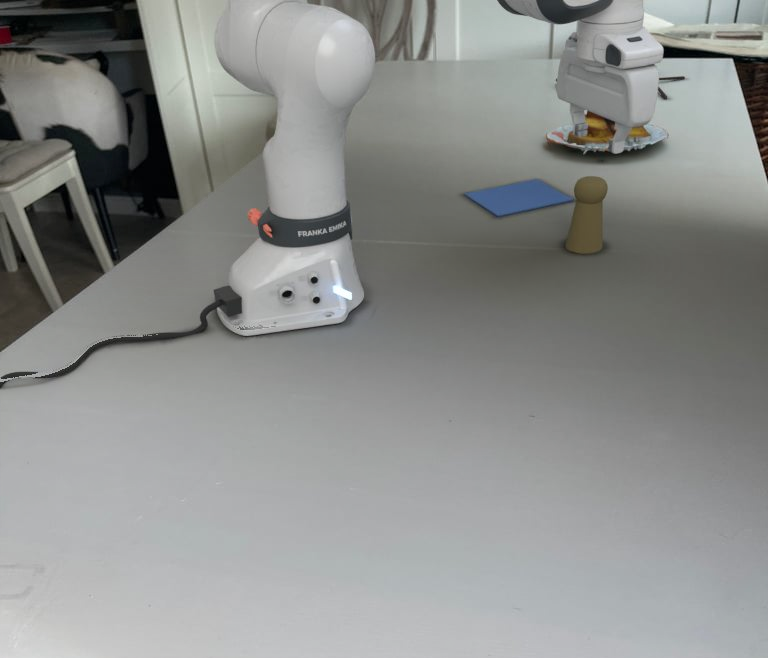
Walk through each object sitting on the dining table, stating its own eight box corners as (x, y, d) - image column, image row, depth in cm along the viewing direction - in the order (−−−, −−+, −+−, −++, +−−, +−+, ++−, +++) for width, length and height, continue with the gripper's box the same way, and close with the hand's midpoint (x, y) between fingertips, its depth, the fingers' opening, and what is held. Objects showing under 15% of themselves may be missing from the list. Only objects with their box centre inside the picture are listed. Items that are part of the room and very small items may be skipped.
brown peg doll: (602, 254, 131) (612, 185, 124) (564, 252, 132) (572, 184, 125) (602, 239, 136) (611, 172, 129) (566, 238, 137) (572, 171, 130)
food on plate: (531, 158, 170) (533, 124, 166) (562, 125, 187) (564, 94, 183) (655, 168, 161) (661, 133, 157) (675, 133, 178) (681, 100, 174)
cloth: (497, 217, 146) (497, 215, 146) (464, 195, 155) (464, 193, 155) (573, 200, 150) (573, 199, 150) (536, 180, 159) (536, 179, 159)
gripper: (550, 32, 121) (543, 130, 130) (633, 58, 107) (618, 165, 116) (585, 26, 123) (576, 123, 132) (672, 51, 108) (655, 158, 117)
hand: (597, 143), depth 124 cm, fingers open, 8 cm apart
